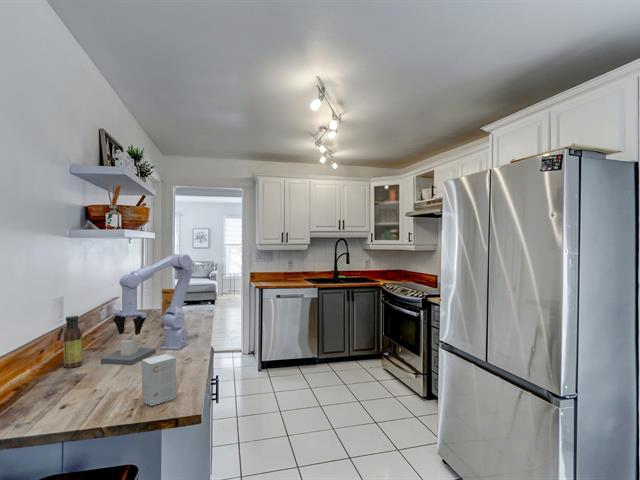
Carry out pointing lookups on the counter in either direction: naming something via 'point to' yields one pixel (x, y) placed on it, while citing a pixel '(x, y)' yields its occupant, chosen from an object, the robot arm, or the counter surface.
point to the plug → (129, 346)
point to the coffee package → (166, 299)
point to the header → (128, 357)
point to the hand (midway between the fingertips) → (129, 334)
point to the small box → (158, 379)
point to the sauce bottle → (72, 343)
